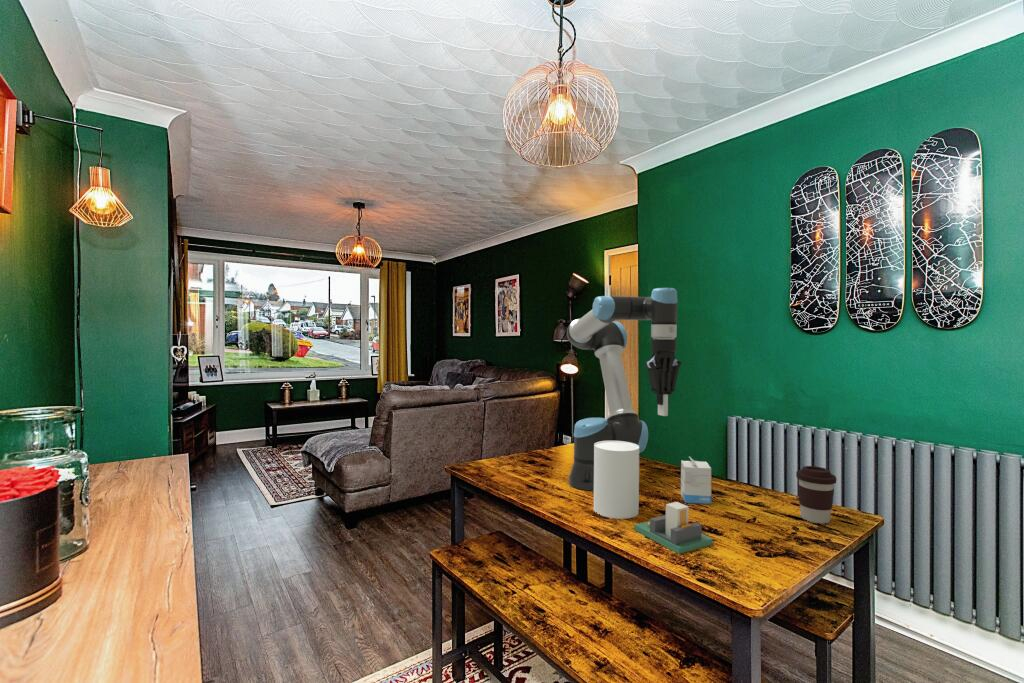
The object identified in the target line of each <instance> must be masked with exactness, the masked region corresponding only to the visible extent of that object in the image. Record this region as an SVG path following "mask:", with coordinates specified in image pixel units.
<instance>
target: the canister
mask: <svg viewBox="0 0 1024 683" xmlns="http://www.w3.org/2000/svg"><path fill="white" fill-rule="evenodd" d="M639 489H640V453H639V446H638V445H637V444H634V443H630V442H625V441H600V442H596V443H595V444H594V490H593V511H594V512H595V513H596V512H597V513H596V514H597V515H599V514H600V516H601V517H605V518H609V519H617V520H618V519H619V520H622V519H623V520H624V519H631V518H635V517H637V516H638V515H639V506H640V505H639V504H640V502H639V500H640V498H639V497H640V496H639V495H640V494H639V492H640V490H639Z"/></svg>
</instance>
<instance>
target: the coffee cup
mask: <svg viewBox="0 0 1024 683" xmlns="http://www.w3.org/2000/svg"><path fill="white" fill-rule="evenodd" d="M795 477H796V478H797V479H798V484H797V487H798V488H797V489H798V490H797V491H798V503H799V506H800V507H799V508H800V509H799V510H800V517H801V518H802V520H804V521H806V520H807V522H810V523H813V524H818V523H819V524H818V525H820V524H822V525H823V524H824V525H825V523H826V524H828V523H830V522H831V514H832V509H833V504H834V503H833V502H834V493H835V489H834V488H835V487H834V486H835V484H837V476H836V475H834V474H832V473H831V471H830V470H829V469H828V468H826V467H820V466H816V465H805V466H802V468H801V469H799V470H796V473H795Z"/></svg>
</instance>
